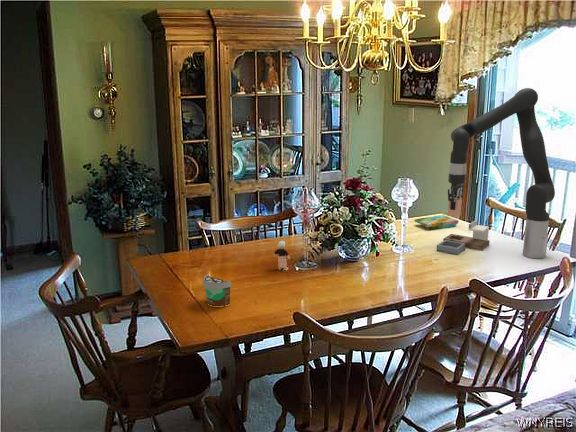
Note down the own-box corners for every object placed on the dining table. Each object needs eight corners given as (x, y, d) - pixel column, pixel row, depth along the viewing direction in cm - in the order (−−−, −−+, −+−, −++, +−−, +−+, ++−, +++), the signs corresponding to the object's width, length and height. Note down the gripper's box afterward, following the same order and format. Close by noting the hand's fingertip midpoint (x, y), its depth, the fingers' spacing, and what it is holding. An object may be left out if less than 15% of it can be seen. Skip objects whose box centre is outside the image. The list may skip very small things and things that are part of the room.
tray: (465, 249, 261) (465, 243, 260) (457, 255, 253) (457, 249, 253) (444, 245, 267) (445, 239, 266) (436, 251, 259) (436, 245, 258)
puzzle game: (458, 218, 297) (427, 223, 290) (457, 227, 298) (427, 231, 291) (444, 213, 308) (414, 217, 300) (444, 221, 309) (414, 226, 301)
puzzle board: (489, 245, 267) (489, 240, 266) (482, 250, 259) (482, 245, 259) (451, 238, 278) (451, 233, 277) (443, 243, 270) (443, 238, 270)
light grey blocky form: (487, 240, 266) (489, 222, 263) (482, 244, 260) (483, 226, 257) (473, 237, 270) (474, 220, 267) (467, 241, 264) (468, 224, 261)
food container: (196, 303, 204) (195, 278, 202) (208, 298, 209) (207, 273, 206) (220, 312, 197) (219, 286, 194) (232, 306, 202) (231, 280, 199)
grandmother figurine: (291, 268, 239) (291, 240, 236) (289, 271, 236) (289, 243, 232) (274, 266, 241) (274, 239, 238) (272, 269, 238) (271, 241, 234)
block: (460, 215, 260) (462, 198, 258) (456, 217, 257) (458, 200, 254) (451, 213, 263) (452, 197, 261) (447, 215, 259) (448, 198, 257)
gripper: (455, 169, 262) (453, 204, 266) (443, 173, 251) (440, 210, 256) (471, 171, 257) (468, 206, 262) (459, 175, 247) (456, 212, 251)
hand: (454, 208), depth 259 cm, fingers closed on block, 4 cm apart
